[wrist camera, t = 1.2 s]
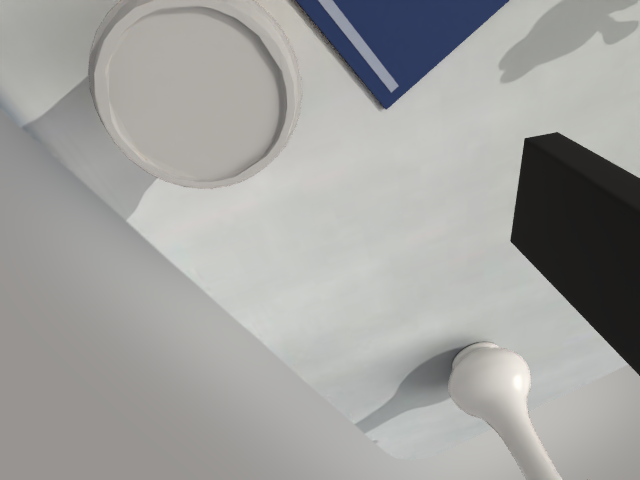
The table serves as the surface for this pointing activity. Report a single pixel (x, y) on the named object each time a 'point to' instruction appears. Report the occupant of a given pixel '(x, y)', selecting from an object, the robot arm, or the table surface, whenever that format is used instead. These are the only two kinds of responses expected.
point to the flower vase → (501, 402)
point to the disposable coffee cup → (195, 88)
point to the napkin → (397, 36)
